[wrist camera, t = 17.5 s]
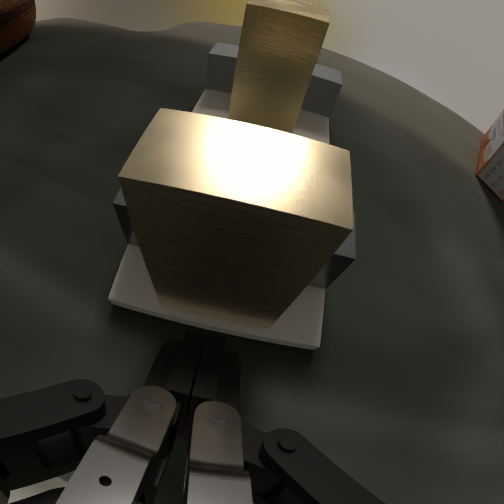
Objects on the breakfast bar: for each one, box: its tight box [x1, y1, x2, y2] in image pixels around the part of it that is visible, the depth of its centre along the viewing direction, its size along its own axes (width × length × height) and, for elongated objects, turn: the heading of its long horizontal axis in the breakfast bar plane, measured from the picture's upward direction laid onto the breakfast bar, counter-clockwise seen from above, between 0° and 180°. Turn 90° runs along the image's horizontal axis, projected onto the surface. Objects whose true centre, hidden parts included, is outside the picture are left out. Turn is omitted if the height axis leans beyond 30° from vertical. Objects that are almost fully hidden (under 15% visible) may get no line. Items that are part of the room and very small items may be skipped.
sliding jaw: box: [113, 108, 355, 328], centre depth 13 cm, size 12×6×10 cm, turn 80°
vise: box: [108, 43, 342, 350], centre depth 20 cm, size 12×24×5 cm, turn 170°
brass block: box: [228, 0, 329, 134], centre depth 19 cm, size 5×5×11 cm
